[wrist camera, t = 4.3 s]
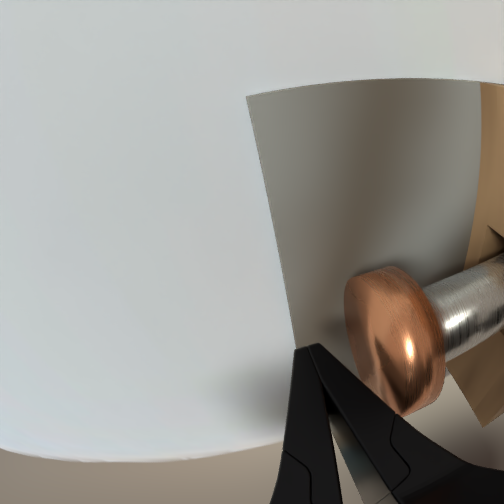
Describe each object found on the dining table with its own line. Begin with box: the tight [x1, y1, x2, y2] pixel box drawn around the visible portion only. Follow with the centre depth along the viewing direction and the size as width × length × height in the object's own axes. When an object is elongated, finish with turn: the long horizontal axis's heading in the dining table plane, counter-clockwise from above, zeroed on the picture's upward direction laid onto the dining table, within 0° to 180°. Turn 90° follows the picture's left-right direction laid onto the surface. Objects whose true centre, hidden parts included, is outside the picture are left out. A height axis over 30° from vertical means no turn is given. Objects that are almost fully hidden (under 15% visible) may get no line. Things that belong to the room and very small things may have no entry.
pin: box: [344, 253, 504, 417], centre depth 8 cm, size 10×5×5 cm, turn 102°
